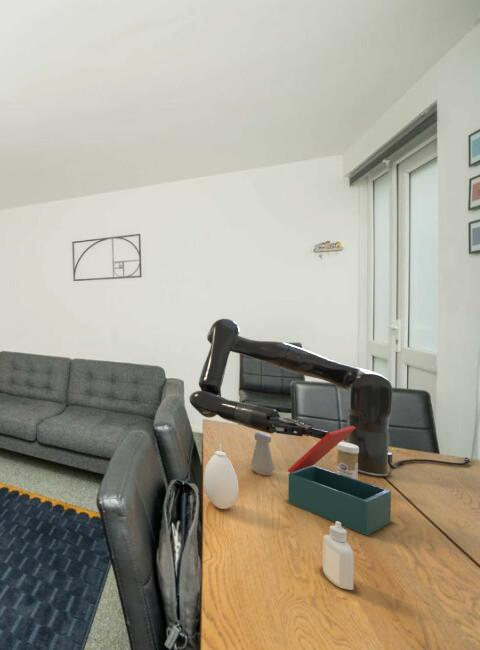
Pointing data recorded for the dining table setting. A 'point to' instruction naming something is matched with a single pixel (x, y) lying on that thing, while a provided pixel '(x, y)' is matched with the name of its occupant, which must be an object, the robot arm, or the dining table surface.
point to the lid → (321, 448)
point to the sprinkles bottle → (347, 459)
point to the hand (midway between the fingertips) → (328, 436)
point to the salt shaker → (262, 455)
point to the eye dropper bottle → (338, 558)
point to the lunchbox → (340, 498)
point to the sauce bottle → (221, 481)
